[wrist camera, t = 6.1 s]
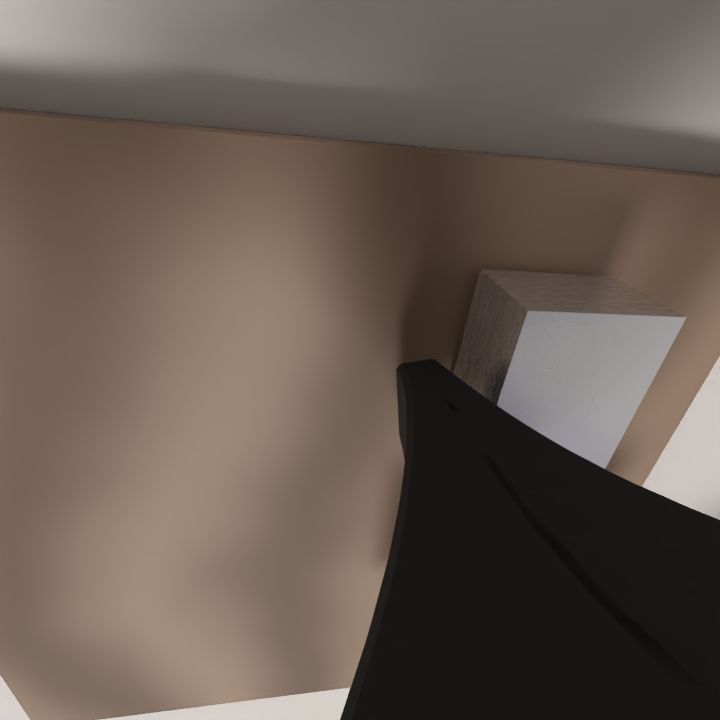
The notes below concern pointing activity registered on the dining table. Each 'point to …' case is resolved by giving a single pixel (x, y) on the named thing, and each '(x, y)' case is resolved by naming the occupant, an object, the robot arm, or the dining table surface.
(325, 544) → the base plate
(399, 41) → the dining table surface
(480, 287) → the link
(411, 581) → the robot arm
